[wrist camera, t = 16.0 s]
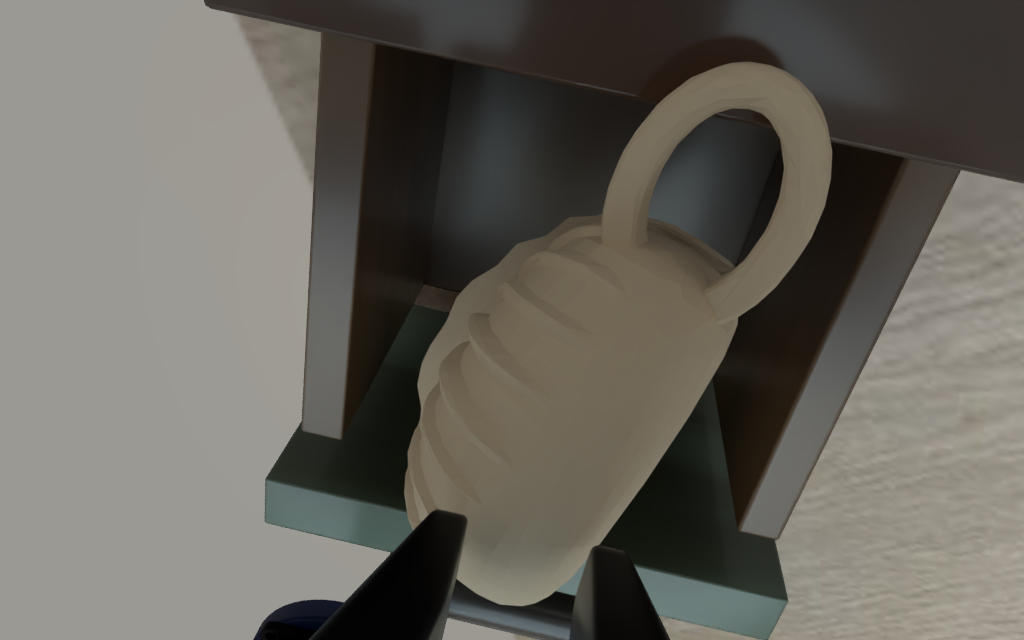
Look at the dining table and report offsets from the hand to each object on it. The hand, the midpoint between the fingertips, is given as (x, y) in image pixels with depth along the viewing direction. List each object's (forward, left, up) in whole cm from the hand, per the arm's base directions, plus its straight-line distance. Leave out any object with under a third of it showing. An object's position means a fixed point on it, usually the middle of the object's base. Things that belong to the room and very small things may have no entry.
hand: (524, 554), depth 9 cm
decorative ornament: (0, 0, -6) cm, 6 cm away
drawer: (0, -1, -12) cm, 12 cm away
